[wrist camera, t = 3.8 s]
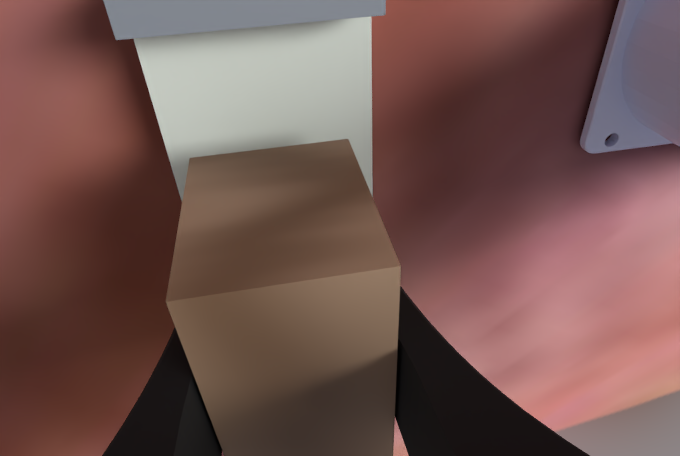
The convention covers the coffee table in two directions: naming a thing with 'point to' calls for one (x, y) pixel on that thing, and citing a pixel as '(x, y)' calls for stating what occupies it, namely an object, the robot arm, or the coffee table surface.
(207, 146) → the rail
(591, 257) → the coffee table surface
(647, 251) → the coffee table surface
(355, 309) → the tan cardboard box
